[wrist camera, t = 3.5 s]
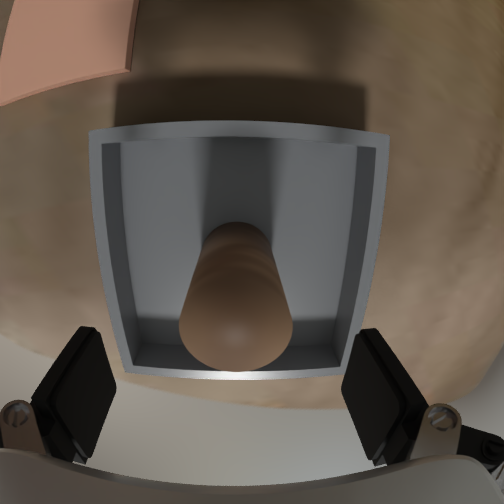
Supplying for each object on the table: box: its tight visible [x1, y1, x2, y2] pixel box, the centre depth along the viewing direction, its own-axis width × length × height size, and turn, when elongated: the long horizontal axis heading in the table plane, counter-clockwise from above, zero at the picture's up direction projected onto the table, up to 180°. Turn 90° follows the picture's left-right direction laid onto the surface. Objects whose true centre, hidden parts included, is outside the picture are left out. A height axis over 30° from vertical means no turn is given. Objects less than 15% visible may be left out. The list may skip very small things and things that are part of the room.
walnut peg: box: [179, 222, 293, 372], centre depth 15 cm, size 4×4×8 cm
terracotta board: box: [0, 0, 139, 106], centre depth 12 cm, size 12×12×1 cm
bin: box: [89, 121, 390, 380], centre depth 18 cm, size 16×16×4 cm
